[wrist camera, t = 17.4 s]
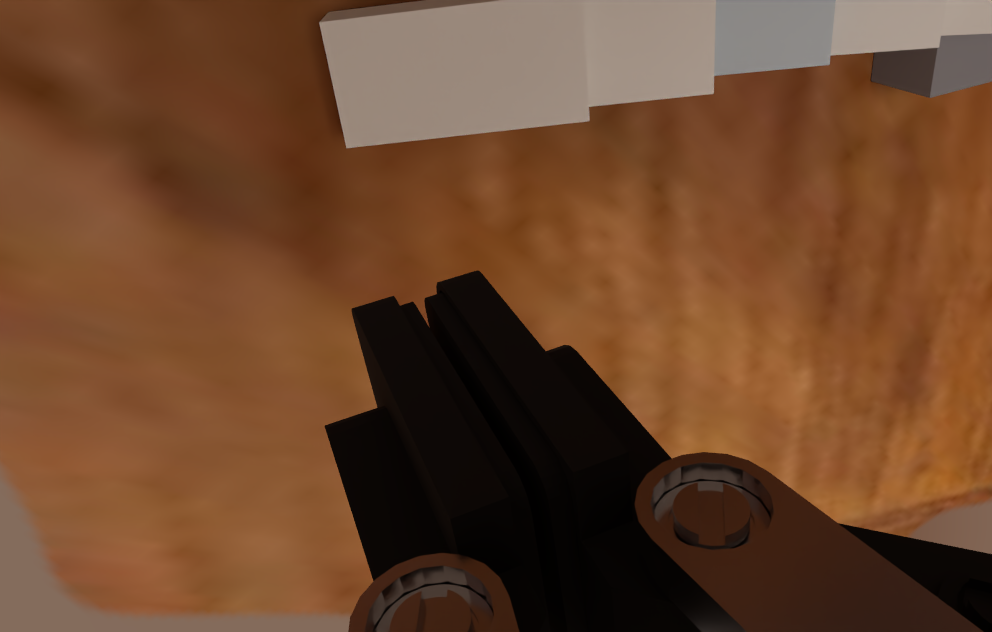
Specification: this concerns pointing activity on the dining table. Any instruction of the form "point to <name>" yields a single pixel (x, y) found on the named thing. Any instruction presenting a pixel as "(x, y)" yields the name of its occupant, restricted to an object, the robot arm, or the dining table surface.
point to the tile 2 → (648, 49)
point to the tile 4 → (886, 25)
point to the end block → (937, 66)
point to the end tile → (456, 68)
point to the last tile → (967, 17)
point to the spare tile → (772, 34)
